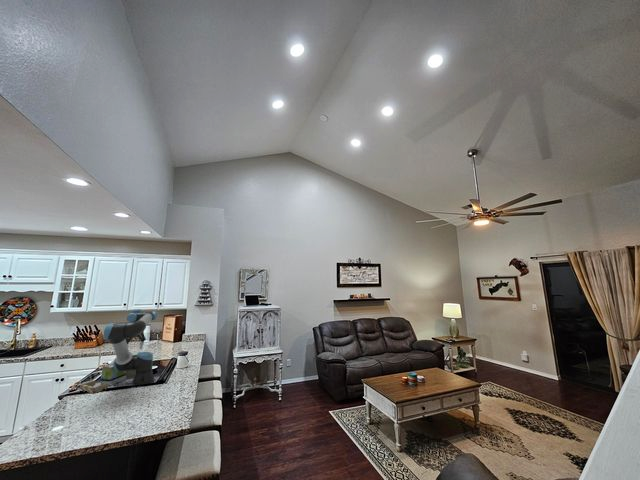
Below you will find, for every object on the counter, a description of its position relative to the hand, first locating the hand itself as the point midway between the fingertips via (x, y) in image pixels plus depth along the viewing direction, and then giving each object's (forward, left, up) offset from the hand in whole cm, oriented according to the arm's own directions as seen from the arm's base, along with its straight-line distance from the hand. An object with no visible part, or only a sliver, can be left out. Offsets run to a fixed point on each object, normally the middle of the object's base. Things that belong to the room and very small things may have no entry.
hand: (133, 350), depth 249 cm
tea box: (0, +16, -22) cm, 27 cm away
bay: (-1, +31, -22) cm, 37 cm away
